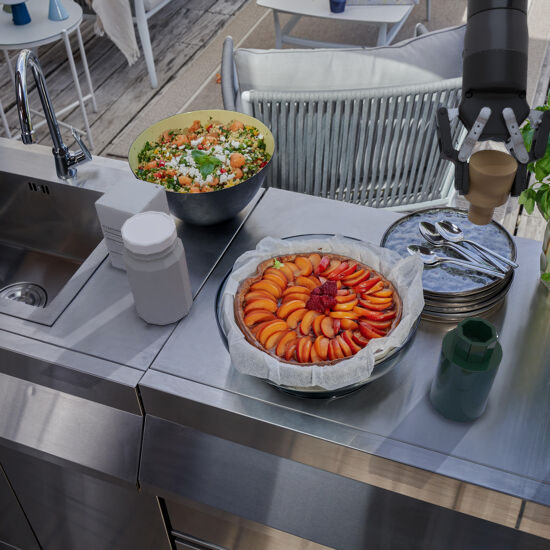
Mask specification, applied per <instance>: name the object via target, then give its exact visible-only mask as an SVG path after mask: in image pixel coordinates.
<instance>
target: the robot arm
mask: <svg viewBox="0 0 550 550" xmlns="http://www.w3.org/2000/svg"><path fill="white" fill-rule="evenodd" d="M466 1H467V3H466V4H467V5H466V23H465V24H466V25H465V32H464V37H463V48H462V52H461V58H462V76H461V80H462V81H461V99H460V103H459V105H458V107H453V108H446V107H445V106H441V107H440V108H438V109H437V111H436V113H435V114H434V125H435V132H436V138H437V145H438V152H439V157H440V159H441V160H444V161H445V160H446V161H449V162H450V163H452V164H453V166H454V175H453V176H454V178H453V188H454V190H455V191H458V195H459V196H463V195H464V196H465V195H467V194H468V188H469V162H468V160H469V158H470V156H471V154H472V152H473V149H474V148H475V146H476V145H477V143H479V142H480V143H485V142H489V141H492V142H495V143H503V145H504V148H505V150H506V151H507V153H508V154H509V155H511V156H512V157H513V158H514V159H515V160H516V162H517V165H518V167H517V171H516V174H515V178H514V181H513V185H512V188H511V192H510V195H509V197H510V198H519V197H521V195H522V193H524V192H525V191H526V189H527V185H528V184H527V183H528V166H529V164H531V163H536V162H538V161H539V160H541V159H543V158H544V157H545V155H546V151H547V147H548V142H549V138H550V109H546V110H544V111H542V110H538V109H531V107H530V105H529V103H528V99H527V93H528V68H529V67H528V66H529V40H530V37H529V36H530V34H529V33H530V32H529V25H528V8H529V7H528V5H529V3H528V2H529V0H466ZM456 118H458V119H459V121H460V122H461V124H462V126H463V127H464V128H465V130H466V131H467V132H466V134H465V136H464V138H463V140H462V142H461V144H460V147H459V149H456V148H454V145H453V138H452V131H451V127H452V126H453V125H455V119H456ZM527 119H528V120H529V123H530V128H531V129H532V130H533V133H532V134H533V135H532V139H531V144H530V147H529V151H528V150H527V148H526V145H525V138H524V137H523V134H522V132H521V126H522V125H523V124H524V123H525V121H526V120H527ZM464 196H463V197H464Z"/></svg>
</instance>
